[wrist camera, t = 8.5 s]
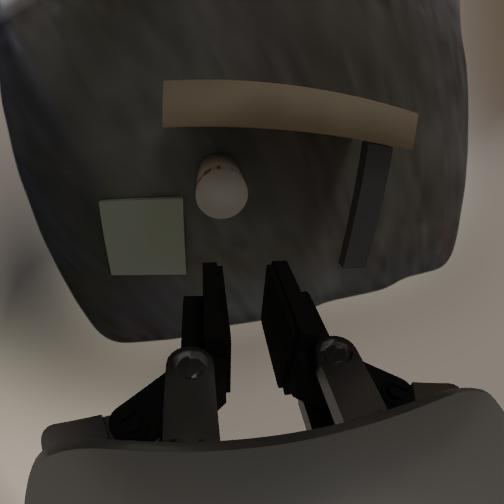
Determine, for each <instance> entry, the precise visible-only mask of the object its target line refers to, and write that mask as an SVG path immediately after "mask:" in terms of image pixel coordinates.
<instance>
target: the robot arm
mask: <svg viewBox="0 0 504 504" xmlns="http://www.w3.org/2000/svg"><path fill="white" fill-rule="evenodd" d="M261 321H262V326H263V330H264V334H265V338H266V342H267V346H268V350H269V354H270V357H271V362H272V365H273V369H274V373H275V377H276V381H277V385H278V387H279V388H282V387H283V390H284V394H285V395H289V394H292V396H293V397H295V398H297V399H298V403H299V407H300V410H301V414H302V417H303V420H304V423H305V427H306V430H307V431H301V432H296V433H289V434H283V435H276V436H268V437H260V438H251V439H242V440H228V441H220V434H219V423H218V412H217V411H218V410H219V409H220V408H221V407H222V406H223V405H224V404H225V403H226V393H227V392H230V377H231V376H230V373H231V334H230V326H229V318H228V310H227V302H226V294H225V285H224V277H223V268H222V266H217V262H211V263H203V296H184V300H183V318H182V340H181V348H180V349H177V350H176V351H174V352H173V353H172V354H171V355H170V356H169V357H168V360H167V363H166V372H165V373H164V374H163V375H161V376H160V377H159V378H157V379H156V380H155V381H153V382H152V383H151V384H149V385H148V386H147V387H145V388H144V389H142V390H141V391H140V392H138V393H137V394H136V395H135V396H133V397H131V398H130V399H129V400H127V401H126V402H125V403H123V404H122V405H120V406H119V407H118V408H117V409H115V410H114V411H113V412H112V414H111V415H110V416H106V417H102V415H98V416H93V417H89V418H84V419H79V420H74V421H69V422H64V423H59V424H53V425H51V426H49V427H47V428H46V429H45V430H44V432H43V434H42V438H41V444H42V450H43V451H42V452H41V453H40V454H39V455H38V457H37V458H36V460H35V462H34V464H33V466H32V469H31V472H30V475H29V479H28V484H27V489H26V495H25V504H504V411H503V410H502V408H501V407H500V406H499V404H498V403H497V402H496V400H495V399H494V398H493V397H492V396H491V395H490V394H489V393H487V392H486V391H484V390H481V389H476V388H459V387H457V386H456V385H454V384H449V383H417V382H413V383H412V384H411V385H409V384H408V383H407V382H406V381H405V380H403V379H401V378H399V377H397V376H394V375H392V374H390V373H387V372H385V371H383V370H381V369H378V368H376V367H374V366H372V365H369V364H367V363H365V362H363V361H362V359H361V357H360V355H359V353H358V351H357V349H356V348H355V346H354V345H353V344H352V343H351V342H350V341H349V340H347V339H345V338H342V337H338V336H329V334H328V332H327V330H326V328H325V326H324V324H323V322H322V320H321V317H320V315H319V313H318V311H317V309H316V307H315V305H314V303H313V301H312V299H311V297H310V295H309V293H308V292H301V291H300V288H299V286H298V284H297V282H296V280H295V278H294V275H293V273H292V271H291V269H290V267H289V265H288V262H287V261H272V263H271V265H267V268H266V277H265V286H264V295H263V304H262V313H261Z"/></svg>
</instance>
